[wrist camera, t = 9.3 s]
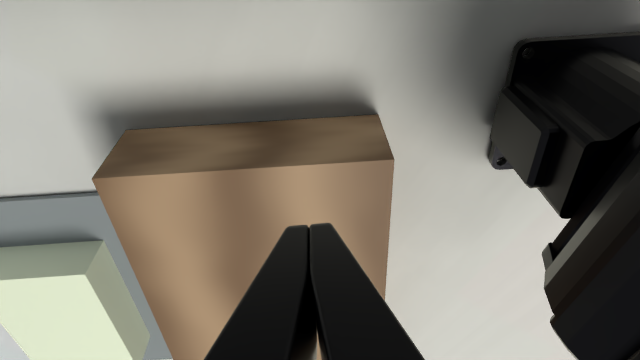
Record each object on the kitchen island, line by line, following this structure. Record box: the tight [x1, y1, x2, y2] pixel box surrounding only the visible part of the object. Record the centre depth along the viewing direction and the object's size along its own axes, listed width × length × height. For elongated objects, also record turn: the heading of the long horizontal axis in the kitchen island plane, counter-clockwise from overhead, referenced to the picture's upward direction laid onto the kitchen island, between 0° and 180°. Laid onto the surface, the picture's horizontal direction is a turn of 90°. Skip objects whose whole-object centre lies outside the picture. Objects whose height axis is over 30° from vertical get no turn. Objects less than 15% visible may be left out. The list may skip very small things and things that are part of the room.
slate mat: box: [0, 192, 173, 360], centre depth 26 cm, size 11×15×1 cm
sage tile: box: [0, 240, 150, 360], centre depth 25 cm, size 6×9×2 cm, turn 3°
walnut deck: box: [92, 114, 394, 360], centre depth 24 cm, size 12×22×4 cm, turn 3°
